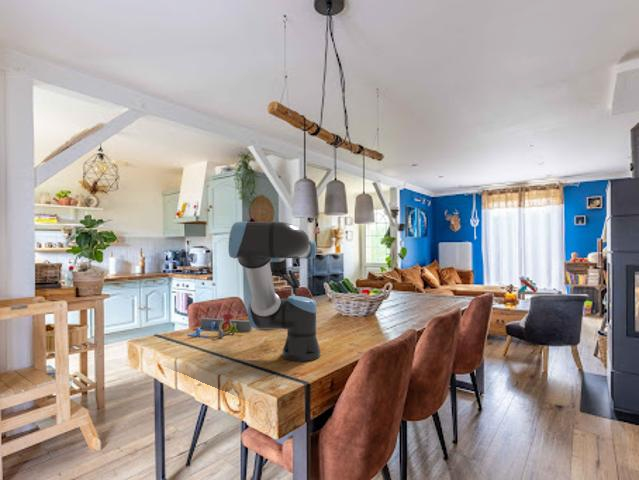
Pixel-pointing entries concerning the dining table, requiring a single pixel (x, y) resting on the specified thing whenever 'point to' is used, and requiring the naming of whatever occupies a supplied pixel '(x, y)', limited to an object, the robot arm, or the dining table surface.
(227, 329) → the bird rattle
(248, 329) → the duct rack
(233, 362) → the dining table surface
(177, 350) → the dining table surface
